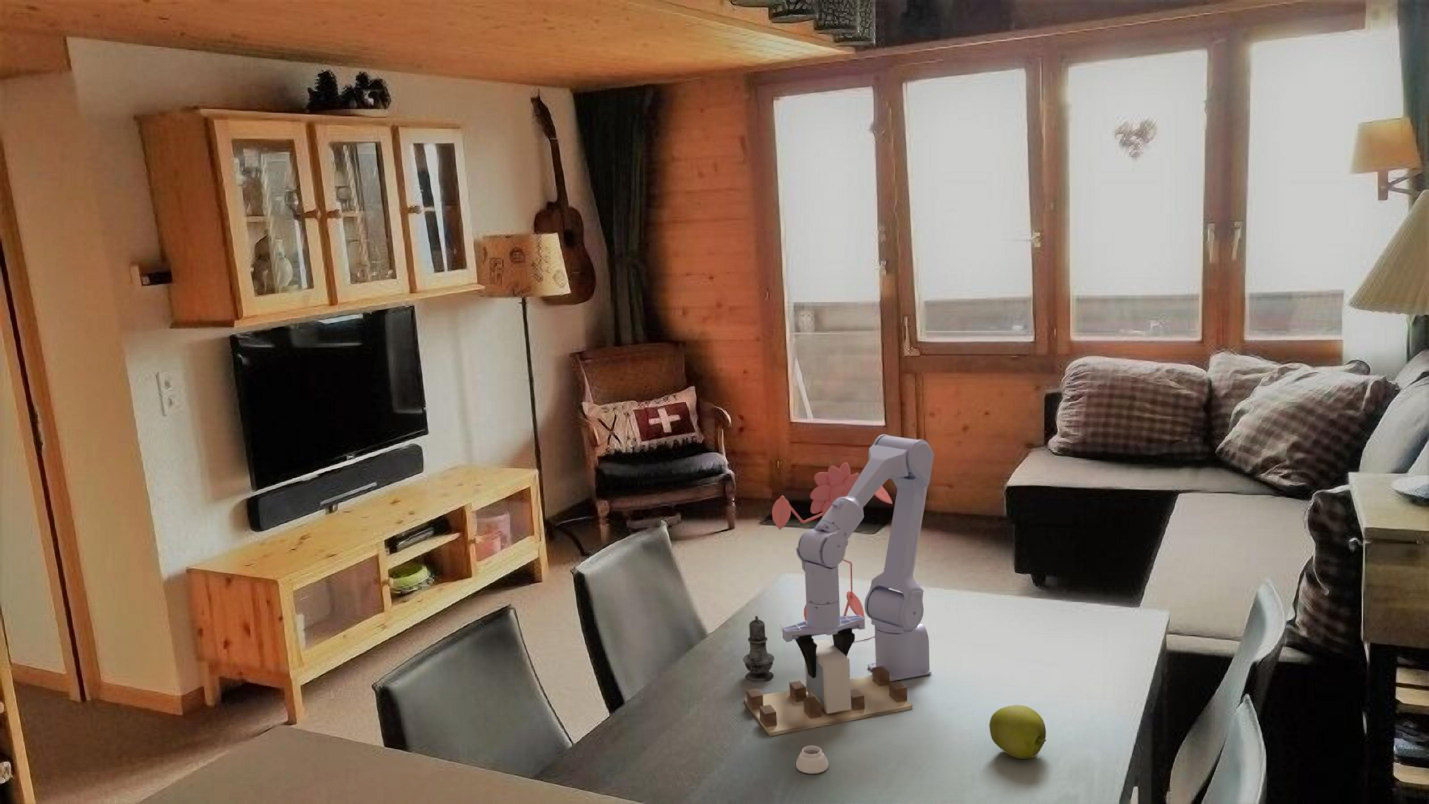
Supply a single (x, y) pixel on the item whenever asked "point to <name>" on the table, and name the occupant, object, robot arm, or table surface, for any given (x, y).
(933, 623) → the table surface
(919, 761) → the table surface
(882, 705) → the notch rack
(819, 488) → the pink flower cutout
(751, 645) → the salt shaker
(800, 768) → the lidless jar
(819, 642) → the tall beige pillar block
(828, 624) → the robot arm
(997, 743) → the apple
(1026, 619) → the table surface
